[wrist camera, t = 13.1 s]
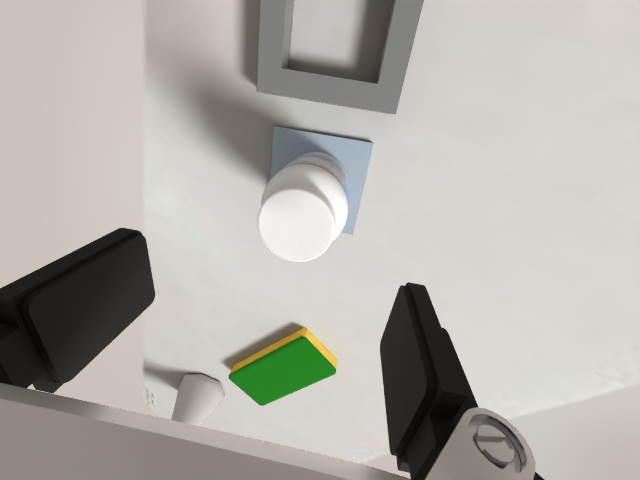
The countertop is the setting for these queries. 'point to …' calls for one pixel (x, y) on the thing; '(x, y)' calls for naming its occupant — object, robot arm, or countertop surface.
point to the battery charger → (327, 88)
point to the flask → (196, 399)
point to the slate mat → (343, 149)
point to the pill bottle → (304, 207)
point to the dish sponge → (284, 367)
